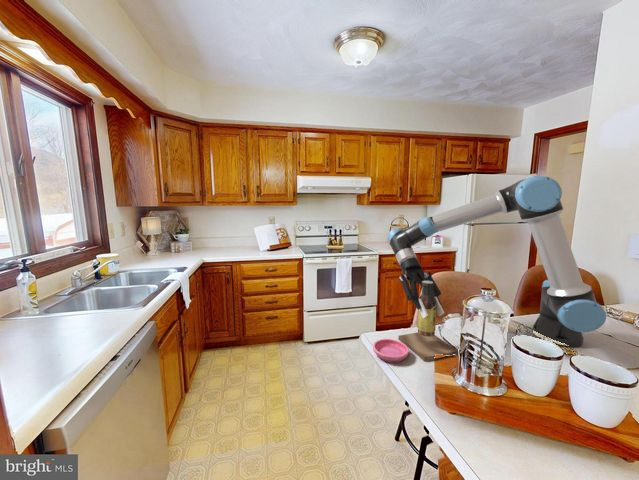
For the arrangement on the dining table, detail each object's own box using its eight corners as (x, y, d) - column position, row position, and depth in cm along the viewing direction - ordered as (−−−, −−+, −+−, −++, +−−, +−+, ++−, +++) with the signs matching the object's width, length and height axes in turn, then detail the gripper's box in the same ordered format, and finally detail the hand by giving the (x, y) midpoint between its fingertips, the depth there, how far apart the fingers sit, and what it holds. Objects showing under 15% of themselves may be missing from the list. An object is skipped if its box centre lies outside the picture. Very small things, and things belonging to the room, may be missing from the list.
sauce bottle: (436, 338, 98) (439, 285, 95) (418, 336, 99) (420, 284, 96) (433, 329, 104) (435, 279, 101) (416, 328, 105) (417, 279, 103)
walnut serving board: (428, 334, 112) (428, 330, 111) (457, 354, 96) (458, 350, 96) (398, 339, 108) (398, 335, 108) (424, 361, 93) (424, 357, 92)
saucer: (398, 344, 104) (398, 336, 104) (415, 362, 92) (415, 354, 92) (367, 348, 102) (367, 340, 101) (381, 367, 90) (381, 358, 89)
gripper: (423, 265, 116) (449, 316, 102) (383, 268, 110) (406, 323, 97) (432, 255, 110) (461, 308, 97) (391, 258, 105) (415, 315, 91)
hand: (433, 315), depth 97 cm, fingers closed on sauce bottle, 6 cm apart
